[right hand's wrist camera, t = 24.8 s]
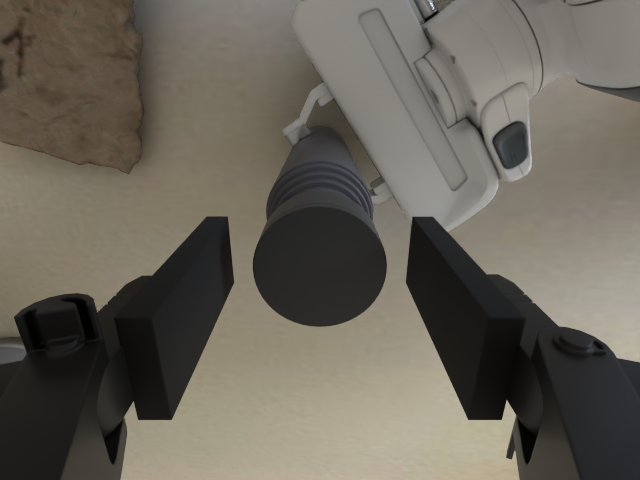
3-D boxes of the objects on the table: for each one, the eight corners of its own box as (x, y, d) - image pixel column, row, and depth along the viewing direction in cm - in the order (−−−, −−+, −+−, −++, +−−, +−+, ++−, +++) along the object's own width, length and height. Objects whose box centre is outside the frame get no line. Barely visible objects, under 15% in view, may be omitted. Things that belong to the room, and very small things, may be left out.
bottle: (340, 185, 37) (374, 332, 14) (289, 175, 37) (238, 311, 14) (351, 131, 35) (411, 203, 12) (297, 121, 35) (254, 175, 12)
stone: (-75, -181, 25) (-153, -223, 20) (164, -92, 29) (148, -108, 24) (-16, 127, 35) (-58, 150, 30) (152, 158, 40) (139, 182, 35)
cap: (373, 300, 15) (380, 328, 13) (262, 297, 15) (255, 325, 13) (383, 192, 13) (393, 208, 12) (259, 189, 13) (249, 204, 11)
